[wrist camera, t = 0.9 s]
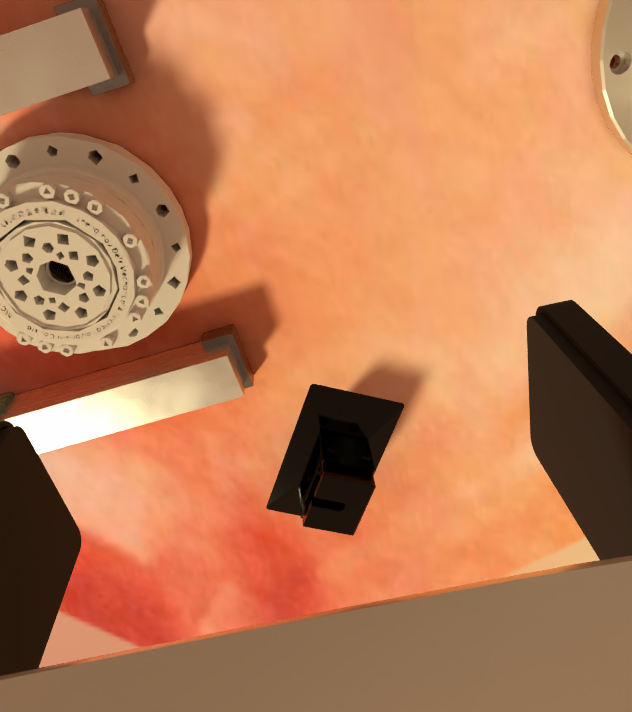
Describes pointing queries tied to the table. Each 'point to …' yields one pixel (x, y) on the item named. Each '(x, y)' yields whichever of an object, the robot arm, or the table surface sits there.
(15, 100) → the bar rails
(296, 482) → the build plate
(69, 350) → the mechanical component
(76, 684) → the robot arm
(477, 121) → the table surface
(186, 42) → the table surface
